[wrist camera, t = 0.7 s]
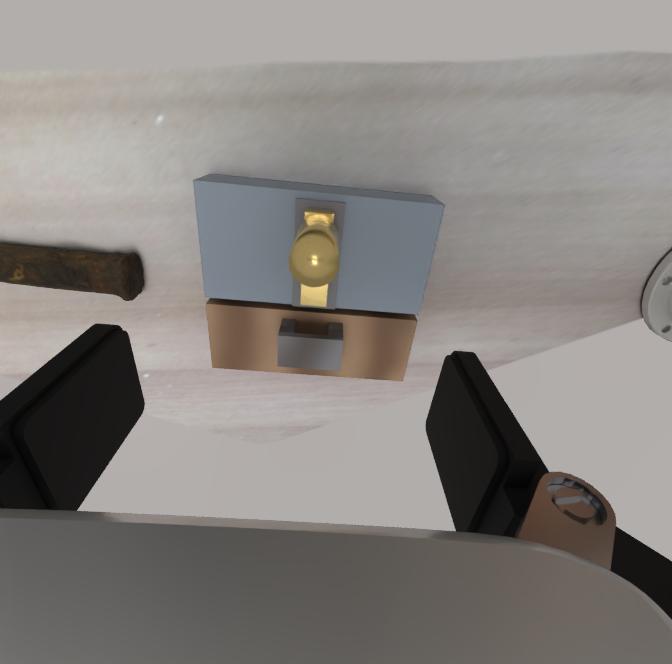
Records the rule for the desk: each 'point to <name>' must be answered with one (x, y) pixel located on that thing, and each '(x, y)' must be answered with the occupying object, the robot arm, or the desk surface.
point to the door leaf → (281, 229)
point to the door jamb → (309, 339)
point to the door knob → (315, 256)
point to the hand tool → (72, 270)
